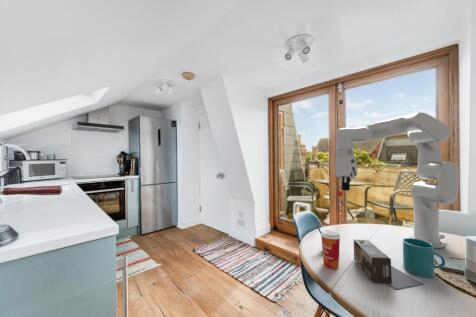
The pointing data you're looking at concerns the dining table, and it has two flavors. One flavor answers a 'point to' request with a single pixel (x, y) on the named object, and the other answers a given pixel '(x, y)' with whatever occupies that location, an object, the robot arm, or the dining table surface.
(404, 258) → the cup
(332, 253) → the paper cup
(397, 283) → the mat
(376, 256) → the coffee box
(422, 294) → the dining table surface
